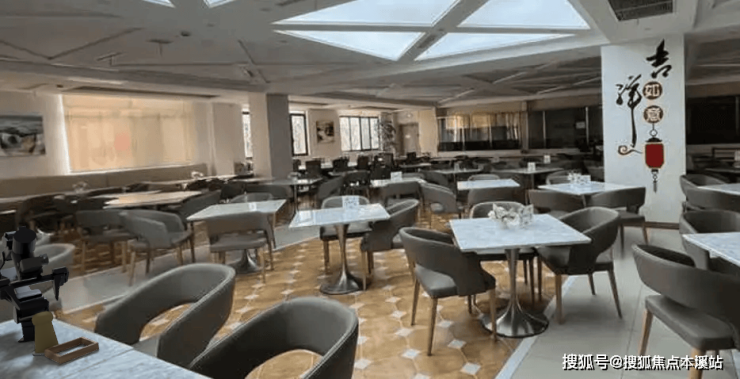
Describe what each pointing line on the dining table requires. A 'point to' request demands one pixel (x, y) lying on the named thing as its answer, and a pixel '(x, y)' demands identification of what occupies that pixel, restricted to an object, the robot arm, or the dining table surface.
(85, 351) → the frame
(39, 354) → the grey round disc
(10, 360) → the dining table surface
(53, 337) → the cork
